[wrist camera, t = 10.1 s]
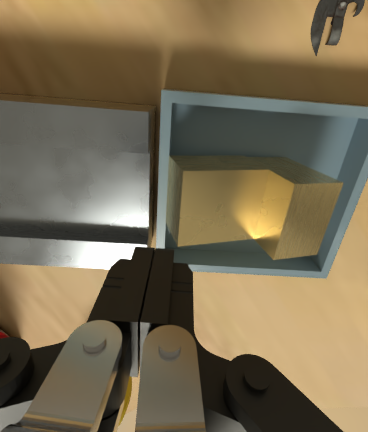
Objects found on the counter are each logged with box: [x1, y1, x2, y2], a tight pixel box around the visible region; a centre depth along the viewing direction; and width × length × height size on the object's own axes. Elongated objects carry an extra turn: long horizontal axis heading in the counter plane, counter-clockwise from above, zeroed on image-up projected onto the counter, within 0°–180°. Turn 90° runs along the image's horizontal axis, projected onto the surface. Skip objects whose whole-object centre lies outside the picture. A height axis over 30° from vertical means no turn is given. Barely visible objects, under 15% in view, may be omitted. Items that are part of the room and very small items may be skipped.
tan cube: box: [247, 157, 343, 260], centre depth 16 cm, size 5×4×3 cm
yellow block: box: [166, 156, 269, 247], centre depth 16 cm, size 5×4×3 cm
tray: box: [156, 89, 368, 278], centre depth 18 cm, size 13×12×2 cm
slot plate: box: [0, 93, 155, 269], centre depth 17 cm, size 16×10×4 cm, turn 86°
